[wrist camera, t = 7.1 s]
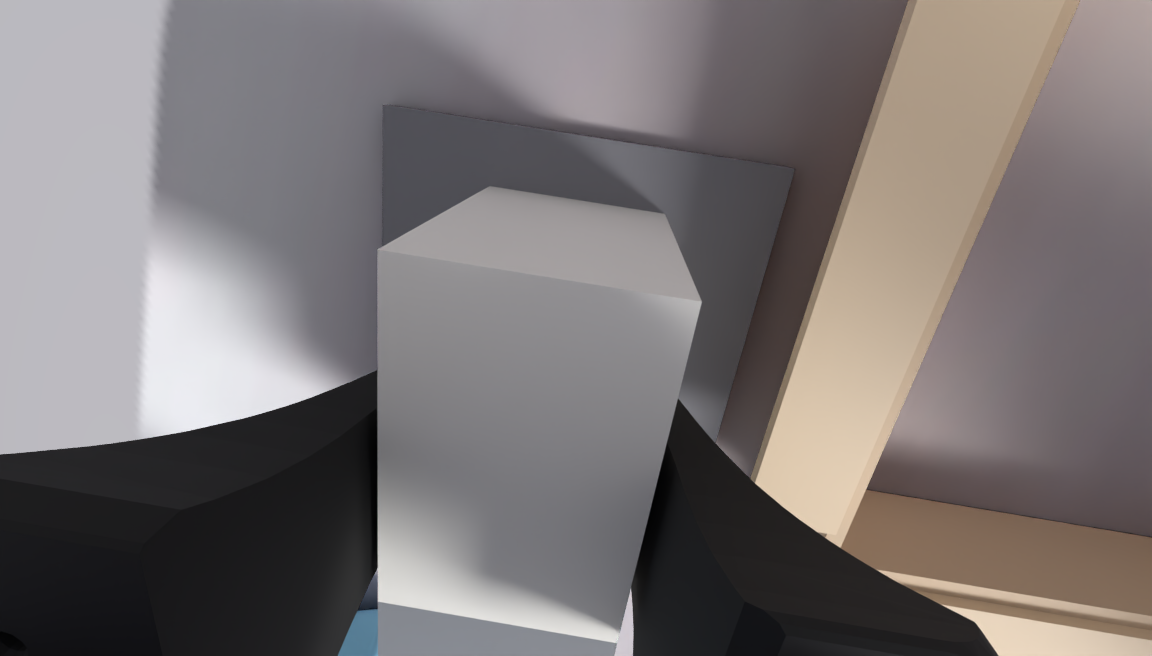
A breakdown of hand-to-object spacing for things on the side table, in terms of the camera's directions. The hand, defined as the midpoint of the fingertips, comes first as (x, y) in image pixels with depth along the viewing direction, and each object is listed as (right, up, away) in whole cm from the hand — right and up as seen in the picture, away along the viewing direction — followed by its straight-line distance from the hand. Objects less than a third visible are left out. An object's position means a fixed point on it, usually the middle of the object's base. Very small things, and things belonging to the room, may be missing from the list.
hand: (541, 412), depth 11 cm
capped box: (0, +1, +2) cm, 2 cm away
